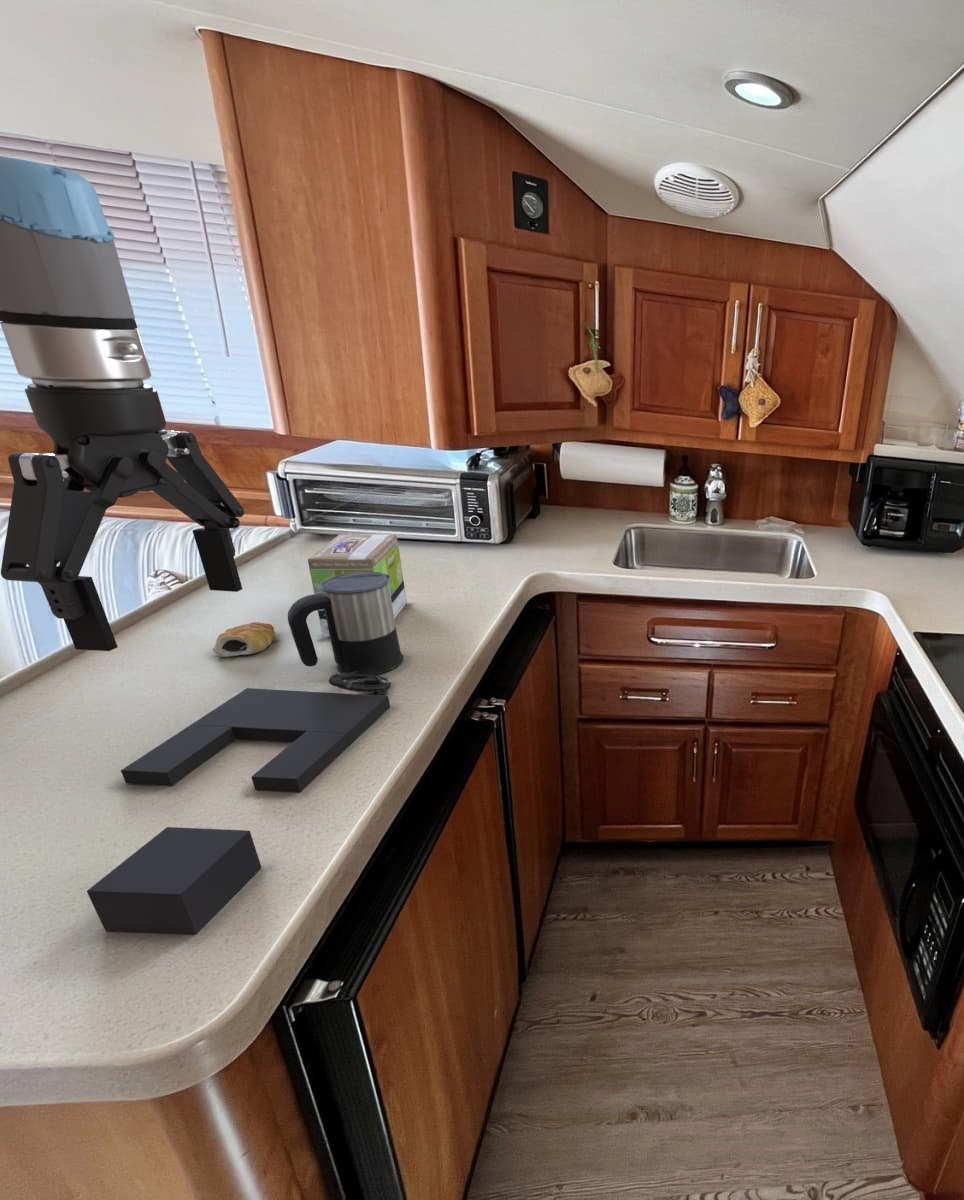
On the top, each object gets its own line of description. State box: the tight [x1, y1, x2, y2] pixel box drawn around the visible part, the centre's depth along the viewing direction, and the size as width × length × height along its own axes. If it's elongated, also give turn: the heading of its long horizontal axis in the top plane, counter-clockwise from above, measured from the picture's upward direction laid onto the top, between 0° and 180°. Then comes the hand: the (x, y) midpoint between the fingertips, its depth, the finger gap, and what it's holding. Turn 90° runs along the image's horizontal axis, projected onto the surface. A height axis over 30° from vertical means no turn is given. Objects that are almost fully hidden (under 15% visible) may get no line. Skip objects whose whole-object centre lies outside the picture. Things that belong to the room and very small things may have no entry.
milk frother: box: [287, 572, 405, 695], centre depth 98 cm, size 14×16×15 cm
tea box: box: [307, 534, 407, 637], centre depth 116 cm, size 15×10×15 cm, turn 17°
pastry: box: [212, 621, 276, 658], centre depth 106 cm, size 9×7×4 cm
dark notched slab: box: [120, 687, 391, 793], centre depth 84 cm, size 20×19×2 cm
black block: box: [86, 826, 263, 935], centre depth 61 cm, size 8×8×5 cm
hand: (168, 616), depth 60 cm, fingers open, 13 cm apart
